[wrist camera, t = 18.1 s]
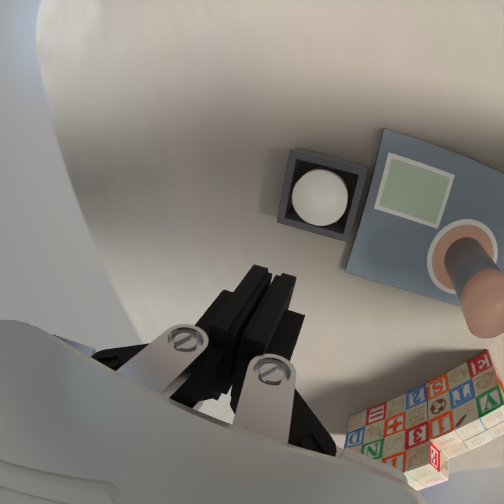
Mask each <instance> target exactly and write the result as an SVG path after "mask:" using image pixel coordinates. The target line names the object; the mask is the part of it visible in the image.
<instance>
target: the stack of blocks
mask: <svg viewBox="0 0 504 504" xmlns="http://www.w3.org/2000/svg"><path fill="white" fill-rule="evenodd" d="M503 434H504V385H503V382H502V379H501V376H500V373H499V371H498V369H497V367H496V365H495V362H494V360H493V358H492V356H491V354H490V352H489V351H488V350H486V351H484V352H483V353H481V354H480V355H478V356H476V357H475V358H473V359H472V360H470V361H468V362H465V363H463V364H462V365H460V366H458V367H456V368H454V369H453V370H451V371H449V372H448V373H446V374H443V375H441V376H440V377H438V378H436V379H434V380H432V381H430V382H428V383H427V384H424V385H422V386H420V387H418V388H416V389H414V390H412V391H410V392H408V393H406V394H404V395H401V396H399V397H397V398H395V399H393V400H390V401H388V402H385V403H382V404H380V405H377V406H375V407H373V408H370V409H368V410H365V411H362V412H359V413H357V414H354V415H352V416H350V417H349V422H348V428H347V435H346V440H345V445H344V449H345V448H346V447H347V448H350V449H352V450H354V451H356V452H358V453H361V454H363V455H365V456H368V457H370V458H372V459H375V460H377V461H380V462H382V463H385V464H387V465H390V466H392V467H395V468H397V469H399V470H400V471H402V472H403V473H404V475H405V476H406V477H407V481H408V485H410V486H411V487H413V488H414V489H415V490H416V491H417V490H421V489H423V488H425V487H429V486H433V485H436V484H438V483H441V482H444V481H447V480H448V479H449V478H448V474H449V472H448V459H450V458H453V457H455V456H458V455H460V454H462V453H465V452H467V451H469V450H472V449H474V448H477V447H479V446H481V445H483V444H485V443H487V442H489V441H491V440H493V439H495V438H497V437H499V436H501V435H503Z"/></svg>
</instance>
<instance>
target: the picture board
mask: <svg viewBox="0 0 504 504" xmlns="http://www.w3.org/2000/svg"><path fill="white" fill-rule="evenodd" d="M464 237H470V238H474V239H476V240H477V241H478V242H479V243H480V244H481V245H482V246H483V248H484V249H485V250H486V252H487V253H488V254H489V256H490V257H491V258H492V260H493V261H494V262H495V264H496V265H497V266H498V268H499V269H500V271H501V272H502V273H504V173H501V172H499V171H497V170H495V169H493V168H490V167H488V166H486V165H484V164H481V163H479V162H477V161H474V160H472V159H469V158H467V157H465V156H462V155H460V154H457V153H454V152H452V151H449V150H447V149H444V148H441V147H439V146H436V145H433V144H430V143H427V142H425V141H422V140H419V139H416V138H413V137H410V136H407V135H404V134H400V133H397V132H394V131H391V130H387V129H383V134H382V138H381V143H380V147H379V151H378V156H377V160H376V164H375V168H374V172H373V176H372V180H371V184H370V187H369V191H368V195H367V199H366V202H365V206H364V209H363V213H362V217H361V220H360V223H359V227H358V230H357V234H356V237H355V240H354V244H353V247H352V250H351V253H350V256H349V260H348V263H347V266H346V269H345V272H346V273H349V274H353V275H356V276H360V277H363V278H366V279H370V280H373V281H377V282H380V283H383V284H387V285H390V286H394V287H397V288H400V289H404V290H407V291H410V292H414V293H417V294H421V295H424V296H427V297H431V298H434V299H437V300H441V301H444V302H448V303H451V304H454V305H458V306H460V301H459V299H458V296H457V294H456V291H455V289H454V287H453V284H452V282H451V280H450V277H449V275H448V273H447V271H446V268H445V264H444V259H445V254H446V252H447V250H448V248H449V247H450V245H451V244H452V243H453V242H455V241H456V240H458V239H460V238H464Z"/></svg>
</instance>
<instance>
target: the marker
mask: <svg viewBox="0 0 504 504" xmlns="http://www.w3.org/2000/svg"><path fill="white" fill-rule="evenodd" d="M444 264H445V268H446V271H447V273H448V275H449V277H450V280H451V282H452V284H453V287H454V289H455V291H456V294H457V296H458V299H459V301H460V306H461V309H462V312H463V315H464V317H465V320H466V323H467V325H468V328H469V330H470V332H471V333H472V334H473V335H475V336H477V337H479V338H492V337H496V336H498V335H500V334H502V333H503V332H504V273H502V272H501V271H500V269H499V268H498V266H497V265H496V264H495V262H494V261H493V260H492V258H491V257H490V256H489V254H488V253H487V252H486V250H485V249H484V248H483V246H482V245H481V244H480V243H479V242H478V241H477V240H476V239H474V238H470V237H464V238H460V239H458V240H456V241H455V242H453V243H452V244H451V245H450V247H449V248H448V250H447V252H446V254H445V259H444Z"/></svg>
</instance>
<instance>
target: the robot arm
mask: <svg viewBox="0 0 504 504" xmlns="http://www.w3.org/2000/svg"><path fill="white" fill-rule="evenodd" d="M271 279H272V273H268V268H265V267H261V266H258V265H253V266H252V268H251V269H250V270H249V272H248V273H247V274H246V276H245V277H244V279H243V280H242V281H241V283H240V284H239V285H238V287H237V288H236V289H235V291H234V292H230V291H227V290H223V291H222V292H221V293H220V294H219V296H218V297H217V298H216V299H215V301H214V302H213V303H212V304H211V306H210V307H209V308H208V309H207V311H206V312H205V313H204V314H203V316H202V317H201V318H200V319H199V321H198V322H197V323H196V324H195V326H194V325H189V324H179V325H175V326H172V327H171V328H169V329H167V330H166V331H165V332H164V333H162V334H161V335H160V336H159V337H157V338H156V339H155V340H154V341H152V342H151V343H149V344H142V345H135V346H128V347H121V348H113V349H106V350H102V351H99V352H96V351H95V348H92V347H89V346H86V345H83V344H80V343H77V342H74V341H71V340H68V339H65V338H62V337H59V336H56V335H53V334H50V333H48V332H46V331H44V330H42V329H40V328H38V327H36V326H33V325H30V324H28V323H25V322H20V321H16V320H0V504H426V501H425V499H424V498H423V497H422V496H421V494H420V493H419V492H418V491H416V490H415V489H414V488H413V487H411V486H410V485H408V481H407V477H406V476H405V475H404V473H403V472H402V471H400V470H399V469H397V468H395V467H392V466H390V465H387V464H385V463H382V462H380V461H377V460H375V459H372V458H370V457H368V456H365V455H363V454H361V453H358V452H356V451H354V450H352V449H350V448H347V447H346V448H345V449H342V448H340V447H337V446H336V444H335V442H334V440H333V439H332V437H331V436H330V435H329V433H328V432H327V431H326V429H325V428H324V427H323V425H322V424H321V423H320V421H319V420H318V419H317V417H316V416H315V415H314V413H313V412H312V411H311V409H310V408H309V407H308V405H307V404H306V402H305V401H304V400H303V398H302V397H301V396H300V394H299V393H298V392H297V390H296V389H295V381H296V370H295V368H294V366H293V365H292V364H291V363H290V359H291V356H292V354H293V351H294V348H295V345H296V342H297V339H298V336H299V333H300V330H301V327H302V324H303V320H304V317H305V315H303V314H299V313H296V312H293V311H290V310H288V308H289V304H290V301H291V297H292V293H293V289H294V286H295V282H296V277H295V276H291V275H288V274H285V273H282V275H281V276H278V275H276V276H275V278H274V279H273V281H272V283H271ZM270 283H271V285H270ZM231 386H232V389H231V395H230V396H231V402H230V406H231V408H232V410H233V412H234V414H235V417H234V420H233V424H229V423H226V422H224V421H221V420H219V419H216V418H214V417H211V416H209V415H206V414H204V413H201V412H199V411H198V410H199V409H200V408H201V406H202V404H203V401H204V400H208V399H212V398H213V399H215V400H218V399H219V397H220V395H221V393H223V394H227V393H228V391H229V390H230V388H231Z"/></svg>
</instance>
